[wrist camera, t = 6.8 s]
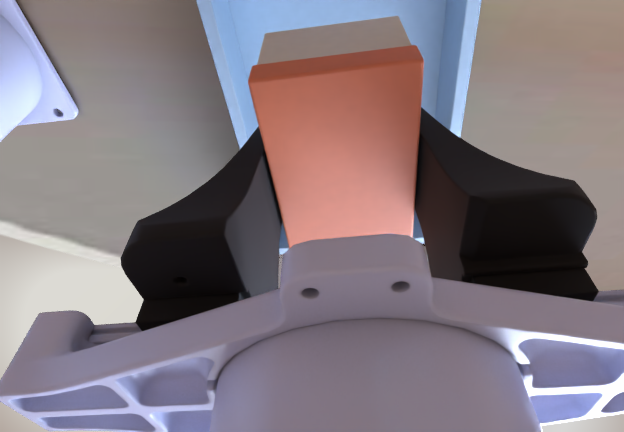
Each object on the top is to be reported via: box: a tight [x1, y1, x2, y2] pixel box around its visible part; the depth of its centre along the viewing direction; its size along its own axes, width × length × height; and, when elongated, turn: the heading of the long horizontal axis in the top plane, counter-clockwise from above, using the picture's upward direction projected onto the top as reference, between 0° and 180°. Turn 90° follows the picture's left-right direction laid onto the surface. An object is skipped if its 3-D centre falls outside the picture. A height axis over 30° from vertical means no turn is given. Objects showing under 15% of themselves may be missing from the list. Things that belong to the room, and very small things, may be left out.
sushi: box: [248, 16, 424, 249], centre depth 14 cm, size 4×8×4 cm, turn 7°
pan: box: [196, 0, 481, 254], centre depth 21 cm, size 11×17×4 cm, turn 7°
